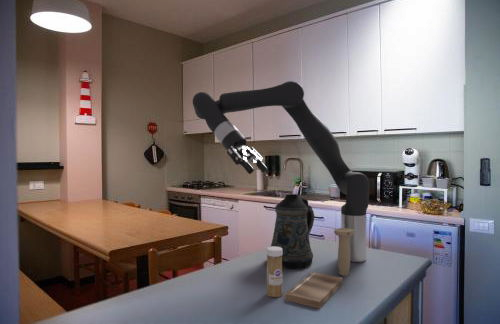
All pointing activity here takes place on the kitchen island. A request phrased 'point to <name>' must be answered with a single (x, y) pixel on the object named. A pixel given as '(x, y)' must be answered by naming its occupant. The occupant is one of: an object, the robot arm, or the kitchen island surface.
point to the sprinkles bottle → (274, 271)
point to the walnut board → (314, 289)
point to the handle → (344, 250)
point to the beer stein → (294, 232)
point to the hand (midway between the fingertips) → (259, 171)
